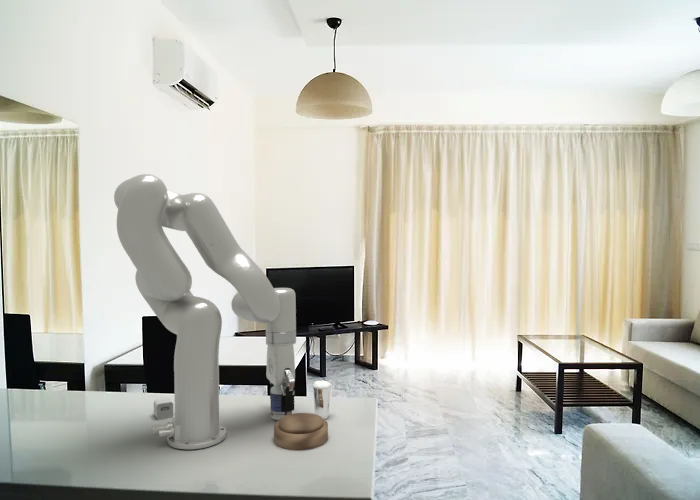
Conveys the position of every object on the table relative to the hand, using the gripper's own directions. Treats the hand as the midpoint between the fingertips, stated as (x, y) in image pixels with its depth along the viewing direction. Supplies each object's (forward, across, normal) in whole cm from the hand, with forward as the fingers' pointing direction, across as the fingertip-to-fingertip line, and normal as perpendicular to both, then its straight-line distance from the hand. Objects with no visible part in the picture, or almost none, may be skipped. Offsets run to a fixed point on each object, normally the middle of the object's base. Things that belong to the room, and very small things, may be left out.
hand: (281, 404), depth 122 cm
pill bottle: (+3, 0, 0) cm, 3 cm away
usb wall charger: (+3, -15, -27) cm, 31 cm away
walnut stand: (+3, +15, 0) cm, 15 cm away
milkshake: (+3, +5, +9) cm, 11 cm away
